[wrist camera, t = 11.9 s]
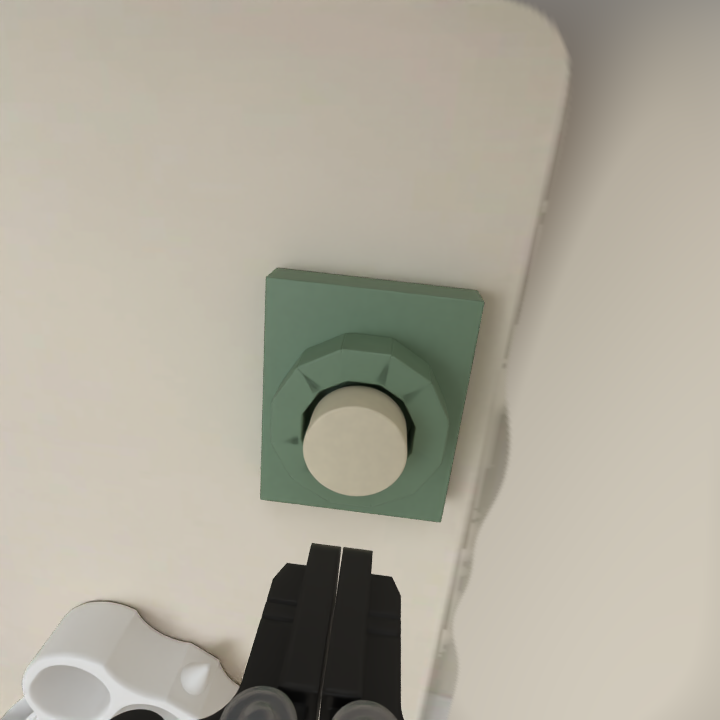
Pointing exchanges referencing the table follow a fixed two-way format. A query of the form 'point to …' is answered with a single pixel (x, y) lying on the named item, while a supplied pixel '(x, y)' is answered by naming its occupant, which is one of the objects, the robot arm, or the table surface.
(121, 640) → the knuckle duster
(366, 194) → the table surface
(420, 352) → the button block
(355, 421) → the button
